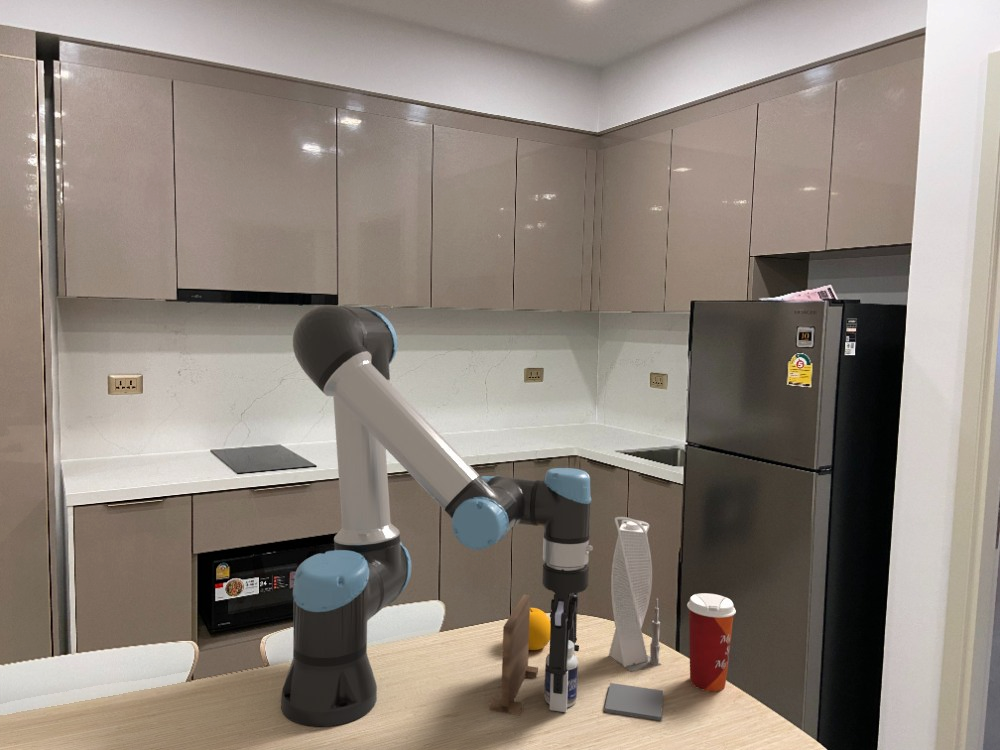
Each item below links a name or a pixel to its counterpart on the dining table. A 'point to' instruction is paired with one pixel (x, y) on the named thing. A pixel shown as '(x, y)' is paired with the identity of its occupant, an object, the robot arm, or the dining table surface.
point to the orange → (538, 629)
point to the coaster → (634, 701)
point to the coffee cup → (709, 640)
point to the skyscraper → (632, 597)
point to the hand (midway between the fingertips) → (561, 699)
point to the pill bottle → (572, 677)
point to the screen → (515, 658)
